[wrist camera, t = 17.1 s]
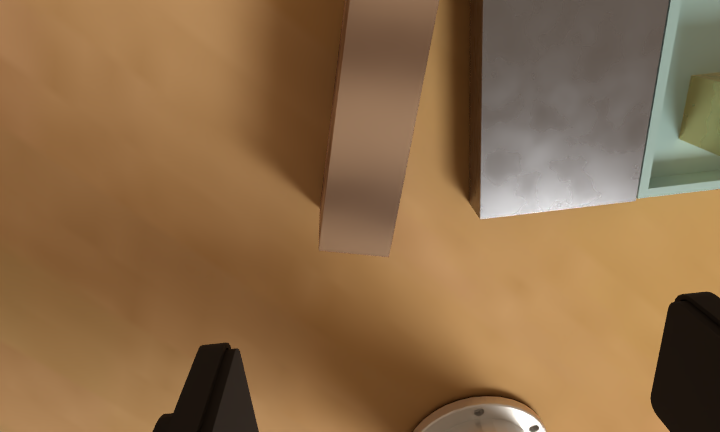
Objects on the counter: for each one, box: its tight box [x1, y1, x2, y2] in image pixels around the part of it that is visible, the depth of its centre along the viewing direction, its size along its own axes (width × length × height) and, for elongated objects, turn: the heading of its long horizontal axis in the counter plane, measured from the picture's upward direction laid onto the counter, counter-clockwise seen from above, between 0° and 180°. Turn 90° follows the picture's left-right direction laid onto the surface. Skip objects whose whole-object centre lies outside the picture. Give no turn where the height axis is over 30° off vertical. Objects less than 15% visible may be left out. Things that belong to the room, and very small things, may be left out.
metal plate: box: [469, 0, 669, 219], centre depth 27 cm, size 22×10×2 cm, turn 6°
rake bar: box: [319, 0, 439, 257], centre depth 25 cm, size 22×4×6 cm, turn 172°
